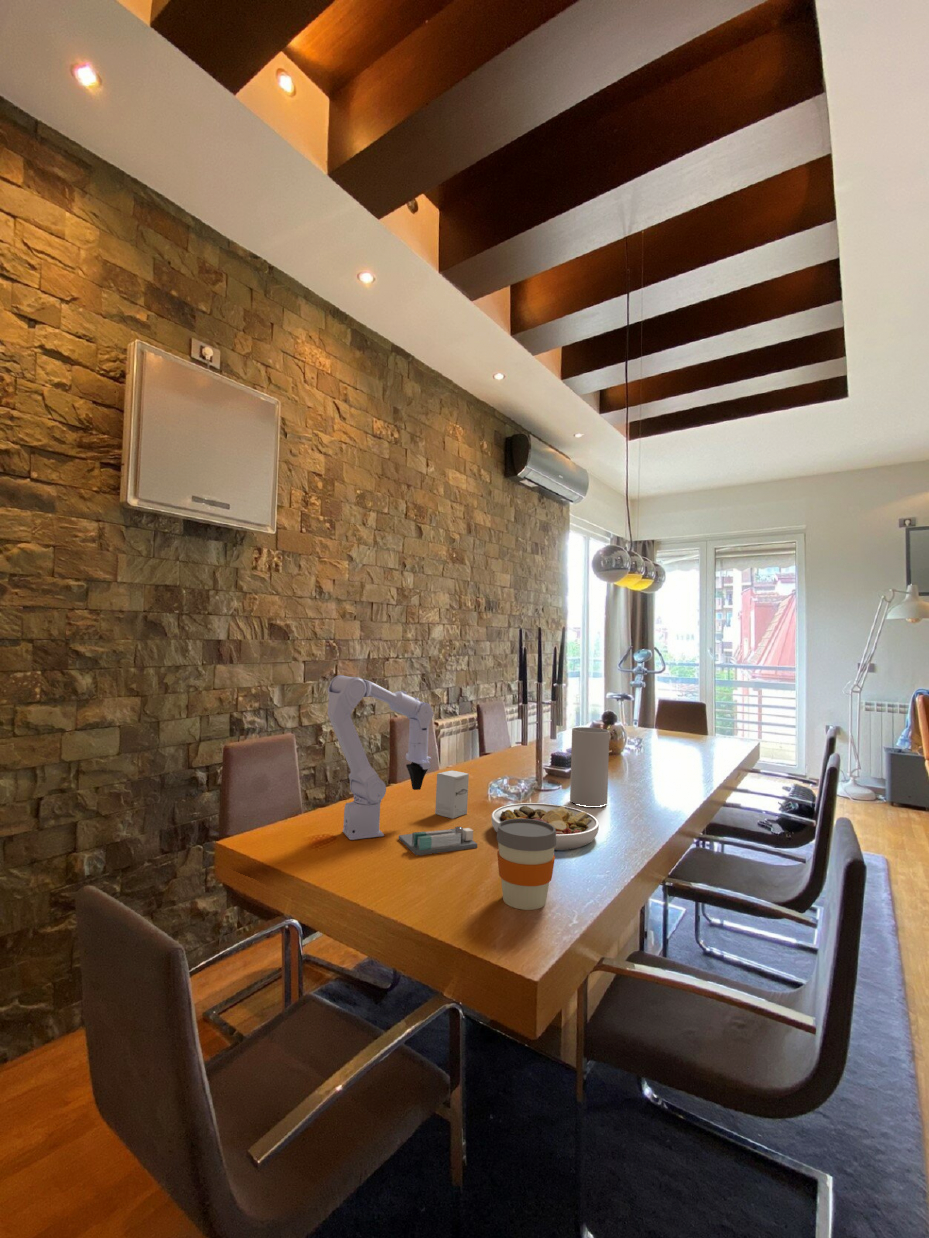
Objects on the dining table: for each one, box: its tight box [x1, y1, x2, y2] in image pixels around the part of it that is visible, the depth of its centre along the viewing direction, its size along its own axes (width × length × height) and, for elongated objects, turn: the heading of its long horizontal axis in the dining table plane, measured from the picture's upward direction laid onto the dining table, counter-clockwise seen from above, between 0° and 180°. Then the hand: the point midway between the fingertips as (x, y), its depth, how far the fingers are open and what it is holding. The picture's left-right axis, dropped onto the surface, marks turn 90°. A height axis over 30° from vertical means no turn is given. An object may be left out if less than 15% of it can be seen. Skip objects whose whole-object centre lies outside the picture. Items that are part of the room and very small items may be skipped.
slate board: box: [398, 828, 478, 856], centre depth 152 cm, size 17×13×1 cm
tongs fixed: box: [417, 826, 464, 850], centre depth 148 cm, size 13×3×4 cm, turn 116°
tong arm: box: [411, 828, 453, 846], centre depth 149 cm, size 10×2×3 cm, turn 114°
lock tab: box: [463, 827, 474, 841], centre depth 153 cm, size 2×2×2 cm
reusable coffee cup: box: [496, 819, 557, 911], centre depth 121 cm, size 13×13×15 cm
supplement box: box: [434, 769, 470, 820], centre depth 179 cm, size 7×7×13 cm
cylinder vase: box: [569, 726, 610, 806], centre depth 198 cm, size 12×12×25 cm
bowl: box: [491, 802, 600, 851], centre depth 163 cm, size 30×30×8 cm
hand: (416, 789), depth 169 cm, fingers closed
